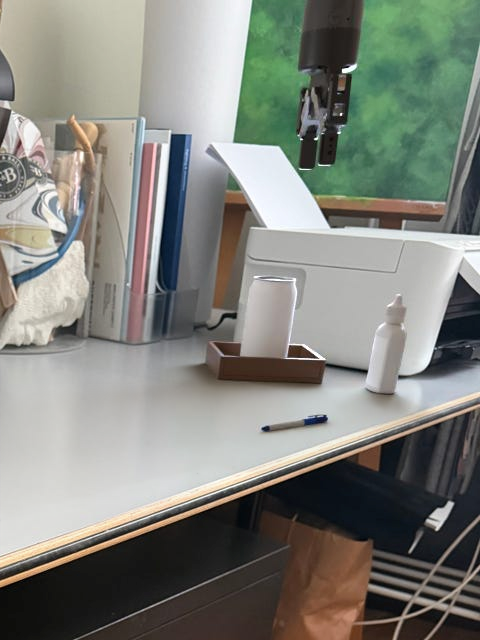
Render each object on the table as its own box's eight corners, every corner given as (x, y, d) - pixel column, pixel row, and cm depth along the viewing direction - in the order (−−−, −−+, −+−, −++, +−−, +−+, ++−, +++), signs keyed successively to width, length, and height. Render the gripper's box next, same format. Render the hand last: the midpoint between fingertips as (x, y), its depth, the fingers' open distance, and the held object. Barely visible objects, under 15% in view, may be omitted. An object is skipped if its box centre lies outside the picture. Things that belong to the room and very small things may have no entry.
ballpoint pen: (322, 420, 109) (323, 412, 108) (328, 422, 108) (330, 414, 108) (259, 431, 103) (261, 422, 103) (266, 433, 103) (267, 424, 102)
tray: (301, 366, 138) (304, 344, 137) (322, 383, 128) (326, 360, 126) (205, 362, 139) (207, 341, 137) (217, 379, 128) (220, 356, 127)
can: (288, 366, 135) (302, 277, 129) (280, 374, 129) (295, 282, 124) (243, 361, 137) (255, 274, 131) (234, 369, 132) (246, 278, 126)
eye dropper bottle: (357, 391, 124) (376, 295, 118) (367, 384, 128) (386, 291, 122) (391, 395, 122) (412, 298, 116) (401, 388, 126) (421, 294, 120)
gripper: (380, 18, 116) (361, 164, 123) (341, 39, 129) (325, 170, 136) (320, 18, 116) (304, 164, 123) (287, 40, 129) (274, 170, 136)
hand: (315, 167), depth 129 cm, fingers open, 8 cm apart
